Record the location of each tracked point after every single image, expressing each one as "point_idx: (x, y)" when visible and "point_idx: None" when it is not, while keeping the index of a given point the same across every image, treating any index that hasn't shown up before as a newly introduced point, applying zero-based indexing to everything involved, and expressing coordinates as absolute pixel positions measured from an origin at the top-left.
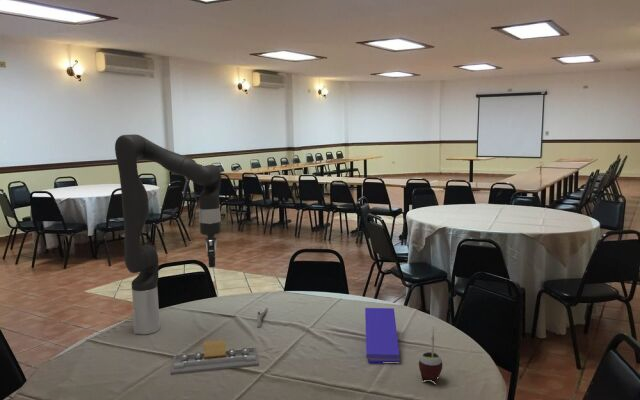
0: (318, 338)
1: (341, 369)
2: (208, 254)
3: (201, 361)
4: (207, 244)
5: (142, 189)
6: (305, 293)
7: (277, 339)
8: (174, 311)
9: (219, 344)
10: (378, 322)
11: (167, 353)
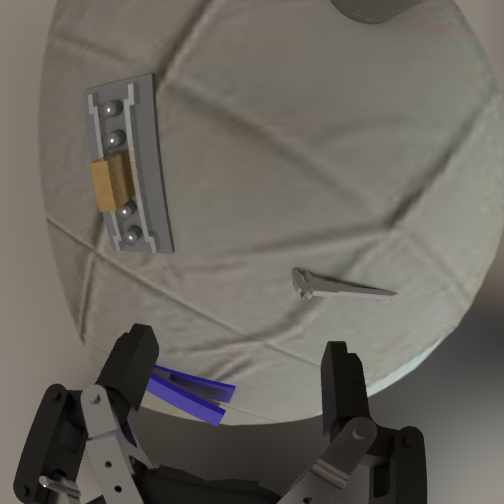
0: (214, 342)
1: (118, 334)
2: (46, 400)
3: (99, 149)
4: (18, 466)
5: None
6: (423, 353)
7: (219, 292)
8: (473, 85)
9: (97, 198)
10: (189, 405)
11: (182, 52)
